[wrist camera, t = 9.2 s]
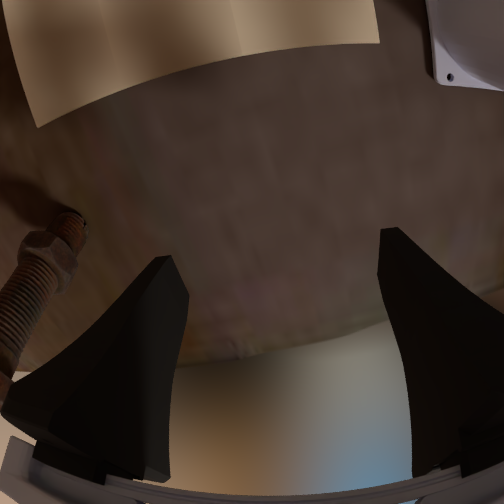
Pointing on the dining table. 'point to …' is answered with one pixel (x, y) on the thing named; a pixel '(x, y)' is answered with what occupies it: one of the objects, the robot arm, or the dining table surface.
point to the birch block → (159, 40)
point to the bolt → (36, 286)
